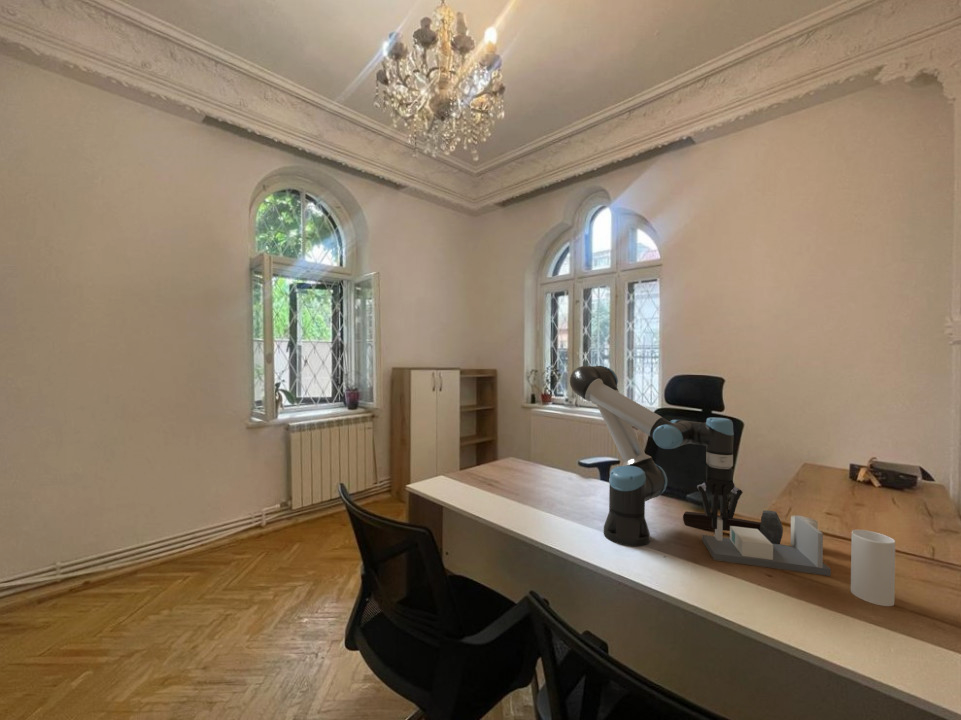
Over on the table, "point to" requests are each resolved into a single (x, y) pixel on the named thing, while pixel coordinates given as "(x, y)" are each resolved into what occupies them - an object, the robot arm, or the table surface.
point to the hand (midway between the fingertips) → (718, 538)
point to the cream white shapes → (809, 520)
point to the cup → (873, 567)
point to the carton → (751, 542)
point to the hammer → (741, 524)
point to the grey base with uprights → (779, 551)
